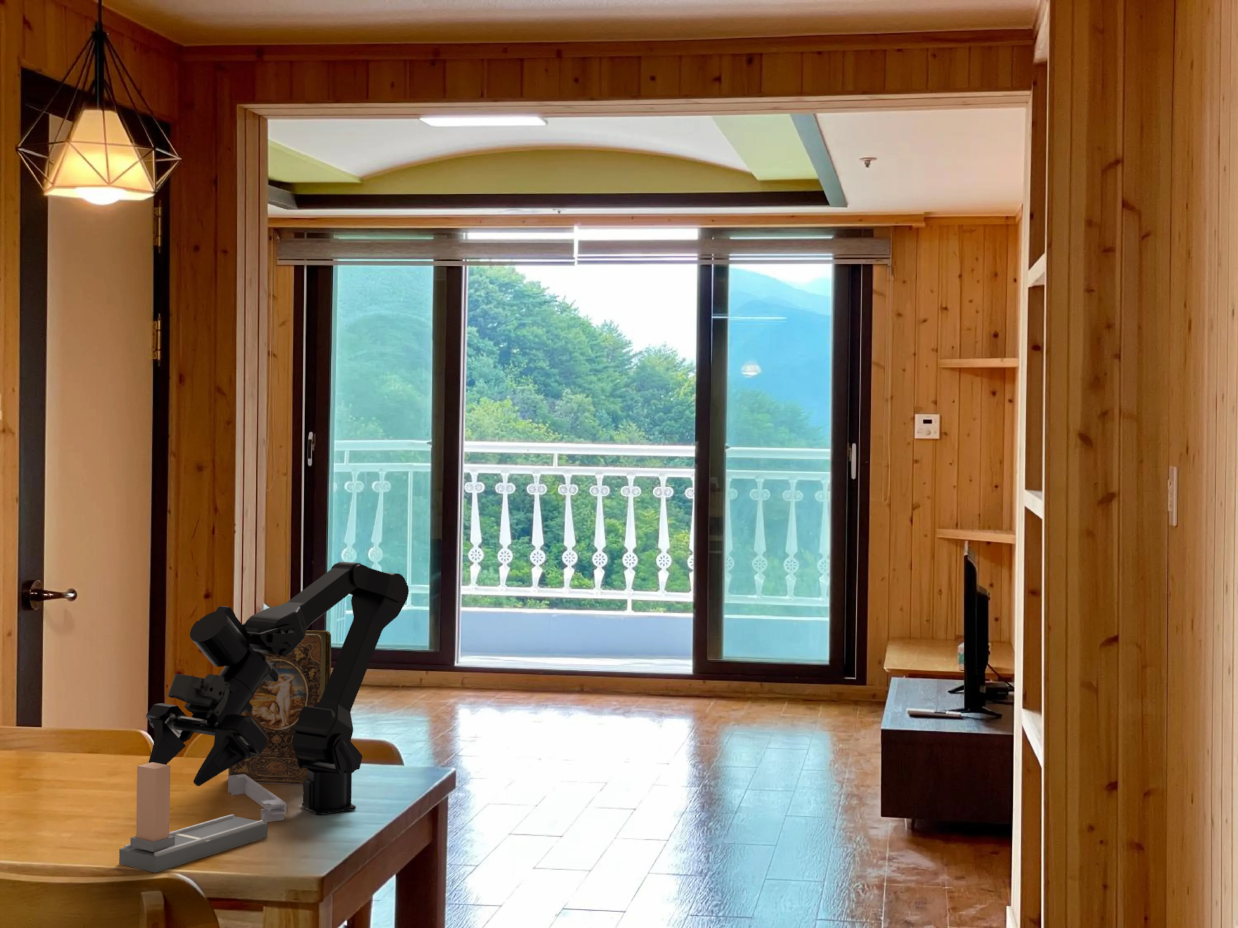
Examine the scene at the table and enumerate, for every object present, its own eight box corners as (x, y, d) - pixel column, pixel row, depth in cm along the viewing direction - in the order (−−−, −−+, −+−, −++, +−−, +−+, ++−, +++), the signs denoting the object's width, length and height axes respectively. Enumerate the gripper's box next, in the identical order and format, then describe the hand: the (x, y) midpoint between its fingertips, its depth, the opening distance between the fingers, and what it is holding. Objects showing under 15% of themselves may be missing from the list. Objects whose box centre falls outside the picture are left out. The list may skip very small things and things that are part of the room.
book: (223, 781, 225) (226, 632, 225) (236, 774, 230) (238, 628, 230) (319, 785, 223) (321, 634, 223) (329, 777, 229) (332, 630, 229)
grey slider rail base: (232, 829, 196) (232, 812, 196) (267, 836, 193) (267, 819, 193) (119, 863, 179) (119, 845, 179) (155, 872, 175) (155, 854, 175)
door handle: (226, 794, 218) (226, 775, 218) (244, 792, 219) (244, 773, 219) (266, 825, 199) (267, 805, 199) (286, 823, 201) (286, 803, 201)
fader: (152, 839, 182) (153, 760, 182) (174, 845, 180) (176, 764, 180) (130, 846, 179) (131, 765, 179) (153, 851, 177) (154, 770, 177)
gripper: (158, 646, 191) (91, 736, 182) (253, 657, 182) (188, 753, 172) (199, 694, 198) (137, 783, 188) (293, 707, 189) (233, 802, 179)
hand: (171, 779), depth 182 cm, fingers open, 9 cm apart
